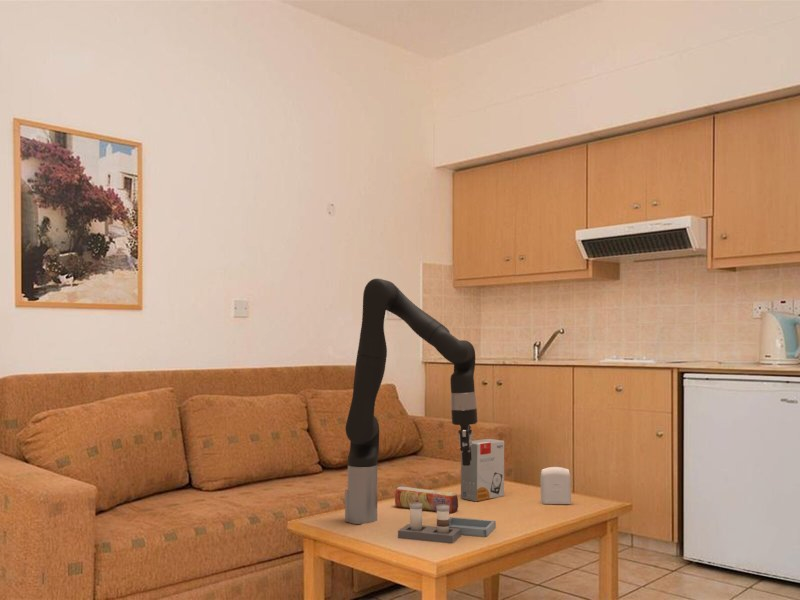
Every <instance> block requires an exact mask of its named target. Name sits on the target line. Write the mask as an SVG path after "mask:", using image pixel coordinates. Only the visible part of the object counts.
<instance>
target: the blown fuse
mask: <svg viewBox="0 0 800 600" xmlns="http://www.w3.org/2000/svg"><path fill="white" fill-rule="evenodd" d="M436 507H437V511H436V527H437V533H445V534H449V518H450V513H449V505H446V504H440V505H437V506H436Z"/></svg>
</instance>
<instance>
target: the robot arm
mask: <svg viewBox="0 0 800 600" xmlns="http://www.w3.org/2000/svg"><path fill="white" fill-rule="evenodd" d="M386 311H387V312H390V313H391V314H393V315H395V316H397V317H398V318H399V319H401V320H402V321H403V322H404V323H406V324H407V326H408V327H409V328H410V329H411V330H412V331H413V332H414V333H415V334H416V335H417V336H418V337H420V338H421V339H422V340H424V341H425V342H426V343H428V344H429V345H430V346H432V347H433V348H435V350H436V351H437V352H438V354H440V355H442V357H443V358H444V359H445V360H446V361H448V362H449V363H452V364H453V372H452V374H451V375H450V395H451V396H450V409H451V410H450V411H451V423H452V425H455V426H460V429H459V430H458V431H457V433H458V438H459V441H458V443H459V447H460V448H459V451H460V453H461V452H463V453H462V462H463V465H464V466H469V465H470V461H471V460H472V457H471V447H472V445H471V444H472V441H473V429H471V428H472V426H471V425H475V424H477V423H478V409H477V397H476V392H475V390H476V389H475V378H474V375H475V370H476V369H475V368H476V350H475V347H474V345H473V344H472V343H471V342H470V341H468V340H460V339H458V338H456V337H455V336H454V335H453V334H452V333H450V330H449V329H448V327H446V326H445V325H444V324H442V323H441V322H440V321H438V320H437V319H435V318H434V317H433V316H431V315H429V313H427V312H425V311H424V310H423V309H421V308H420V307H418V306H417V305H416V304H415V303H414V302H413V301H412V300H410V299H409V298H408V297H407V296H406V295H405V294H404V293H403V291H401V290H400V288H399V287H397V285H395V283H393V282H391V281H389V280H386V279H382V278H373V279H372V278H371V280H369V281H368V282H367V284H366V285H365V287H364V289H363V295H362V318H361V328H360V332H359V342H358V349H357V352H356V360H355V369H354V377H353V387H352V398H351V403H350V407H349V412H348V415H347V419H346V423H345V433H346V434H345V435H346V437H347V439H348V440H349V441H350V443H349V444H350V445H349V447H350V448H349V452H348V456H347V489H346V490H345V492H344V507H345V508H344V522H347V523H350V524H354V525H363V524H371V523H375V522H377V521H378V459H379V451H380V425H379V420H378V419H377V418H376V416H375V405H376V400H377V396H378V394H379V390H380V389H381V388H380V387H381V386H382V382H383V379H384V376H385V371H386V365H387V364H386V363H387V357H388V348H387V341H386V336H385V317H386Z"/></svg>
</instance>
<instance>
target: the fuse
mask: <svg viewBox="0 0 800 600" xmlns="http://www.w3.org/2000/svg"><path fill="white" fill-rule="evenodd" d="M409 524H410V530H414V531H422V525H423V510H422V503H420V502H412V503H410V508H409Z"/></svg>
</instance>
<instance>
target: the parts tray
mask: <svg viewBox="0 0 800 600" xmlns="http://www.w3.org/2000/svg"><path fill="white" fill-rule="evenodd" d="M496 526H497V525H496V520H490V519H489V520H487V519H476V518H475V519H474V518H464V517H453V516H449V528H456V529H461V536H472V537H480V538H487V537H488V536H489V535H490V534H491V533H493V531H494V530H495V529H496V528H497V527H496Z"/></svg>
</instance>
